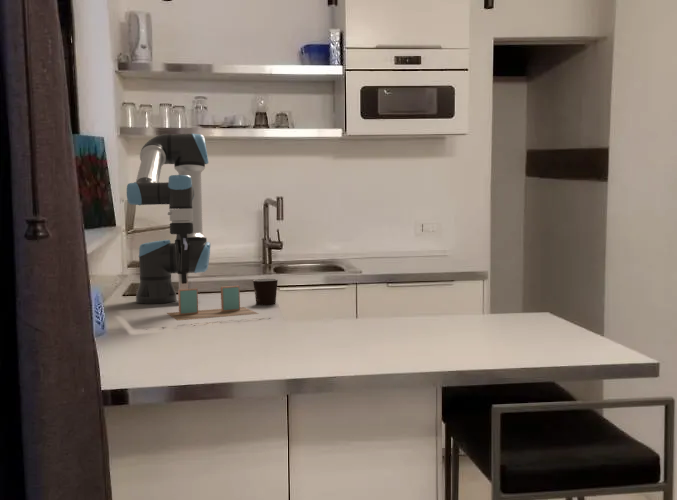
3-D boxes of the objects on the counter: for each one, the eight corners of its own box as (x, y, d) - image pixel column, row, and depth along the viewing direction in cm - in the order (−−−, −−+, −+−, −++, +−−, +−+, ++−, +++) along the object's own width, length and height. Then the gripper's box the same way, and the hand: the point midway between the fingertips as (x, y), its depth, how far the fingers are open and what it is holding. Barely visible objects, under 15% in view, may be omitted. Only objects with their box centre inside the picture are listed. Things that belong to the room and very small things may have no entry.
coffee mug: (274, 310, 245) (273, 281, 244) (250, 309, 246) (249, 281, 246) (283, 305, 256) (282, 277, 255) (260, 305, 258) (260, 277, 257)
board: (166, 317, 232) (166, 312, 232) (243, 311, 243) (243, 306, 243) (177, 325, 217) (177, 320, 217) (258, 318, 228) (258, 313, 227)
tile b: (221, 310, 235) (220, 286, 234) (239, 309, 237) (238, 285, 237) (222, 311, 233) (221, 287, 233) (240, 310, 236) (239, 286, 235)
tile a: (178, 314, 229) (178, 289, 229) (197, 312, 232) (196, 288, 231) (179, 314, 228) (179, 290, 227) (198, 313, 230) (197, 288, 230)
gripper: (166, 222, 238) (168, 291, 240) (173, 222, 227) (176, 296, 228) (188, 221, 242) (190, 290, 243) (197, 222, 230) (199, 294, 231)
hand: (183, 293), depth 236 cm, fingers closed
